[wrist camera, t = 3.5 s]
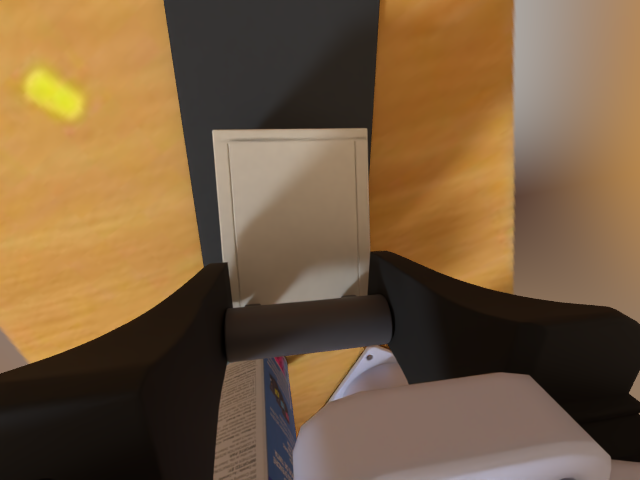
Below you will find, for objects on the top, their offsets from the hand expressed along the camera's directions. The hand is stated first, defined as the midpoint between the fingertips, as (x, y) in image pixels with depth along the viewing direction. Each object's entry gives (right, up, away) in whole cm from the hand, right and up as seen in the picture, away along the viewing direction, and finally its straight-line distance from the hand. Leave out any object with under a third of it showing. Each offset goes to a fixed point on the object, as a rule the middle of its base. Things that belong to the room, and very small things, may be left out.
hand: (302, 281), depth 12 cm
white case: (-1, +2, +7) cm, 7 cm away
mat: (-2, +6, +7) cm, 9 cm away
